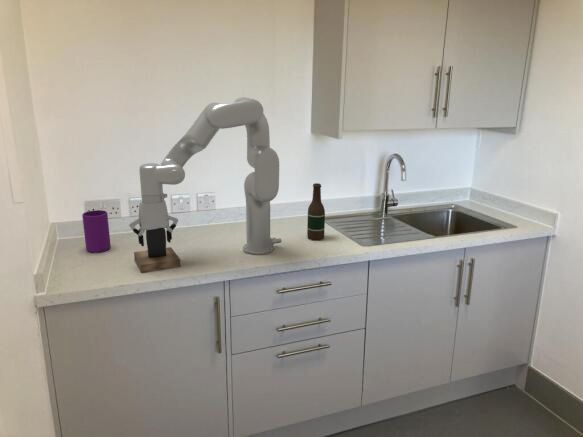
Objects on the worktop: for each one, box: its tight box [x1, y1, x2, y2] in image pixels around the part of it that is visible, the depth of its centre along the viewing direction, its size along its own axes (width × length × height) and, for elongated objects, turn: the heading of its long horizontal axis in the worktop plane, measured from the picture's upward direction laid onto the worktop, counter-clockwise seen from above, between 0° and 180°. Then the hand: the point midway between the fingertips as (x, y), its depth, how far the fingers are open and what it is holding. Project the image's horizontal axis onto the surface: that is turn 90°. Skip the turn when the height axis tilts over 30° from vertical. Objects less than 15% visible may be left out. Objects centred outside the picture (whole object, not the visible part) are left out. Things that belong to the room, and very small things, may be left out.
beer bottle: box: [306, 182, 326, 242], centre depth 210 cm, size 8×8×24 cm
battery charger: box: [145, 228, 167, 257], centre depth 181 cm, size 7×4×11 cm, turn 109°
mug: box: [81, 209, 111, 253], centre depth 198 cm, size 9×16×15 cm, turn 26°
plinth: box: [133, 246, 181, 274], centre depth 183 cm, size 14×14×3 cm
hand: (155, 243), depth 181 cm, fingers open, 9 cm apart
